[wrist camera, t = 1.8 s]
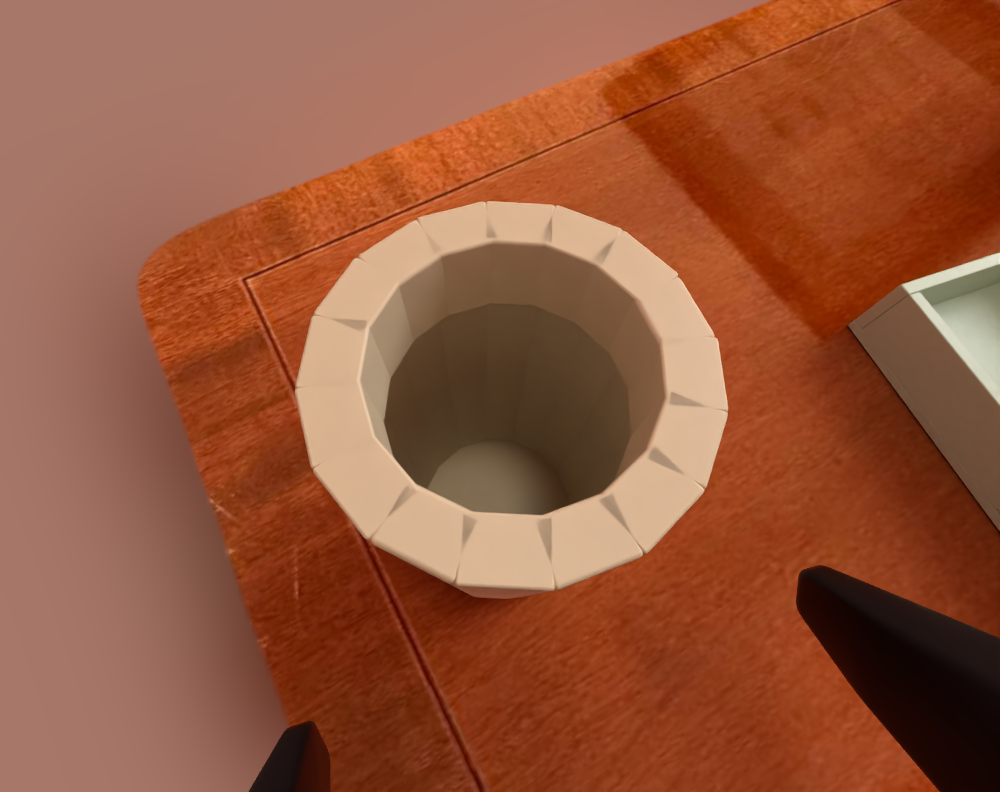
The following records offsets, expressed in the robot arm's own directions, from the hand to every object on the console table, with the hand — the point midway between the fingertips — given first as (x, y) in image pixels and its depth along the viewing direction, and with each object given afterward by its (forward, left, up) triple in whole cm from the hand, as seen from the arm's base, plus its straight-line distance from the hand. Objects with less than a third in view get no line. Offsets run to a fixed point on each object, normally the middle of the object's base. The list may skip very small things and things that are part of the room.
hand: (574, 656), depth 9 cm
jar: (+5, 0, -11) cm, 12 cm away
